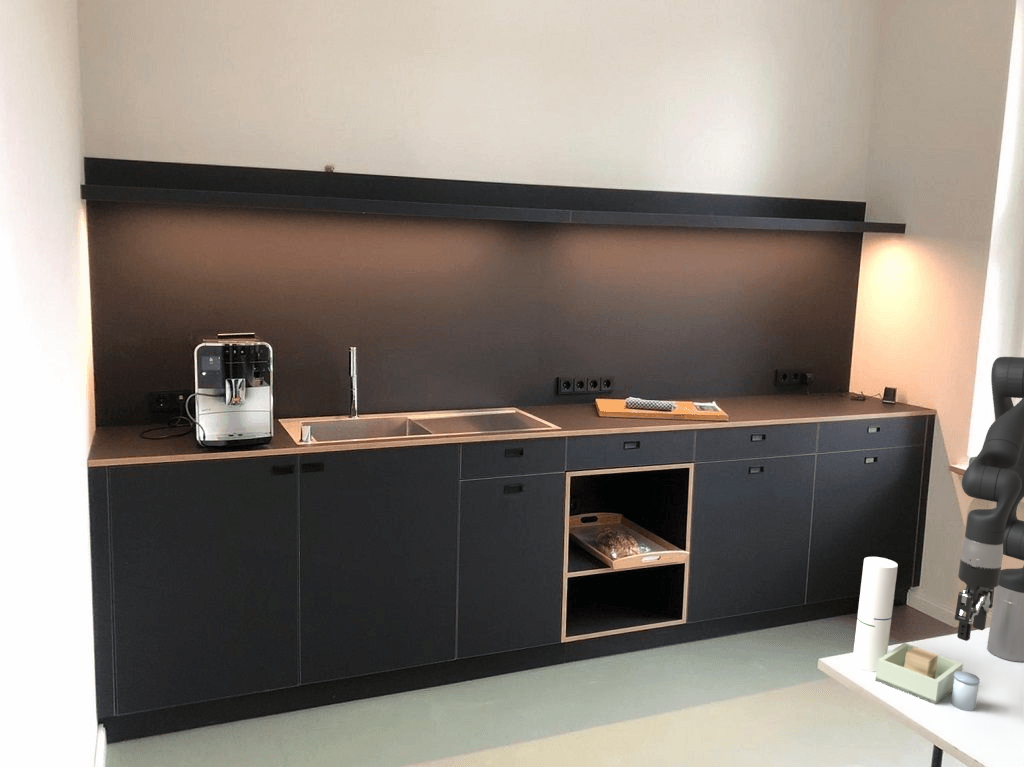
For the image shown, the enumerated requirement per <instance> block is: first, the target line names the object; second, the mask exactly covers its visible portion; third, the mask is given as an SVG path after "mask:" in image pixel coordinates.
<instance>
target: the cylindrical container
mask: <svg viewBox="0 0 1024 767" xmlns="http://www.w3.org/2000/svg"><path fill="white" fill-rule="evenodd" d="M861 574H862V575H861V583H860V591H859V593H860V594H859V599H858V600H859V601H858V609H857V619H856V626H855V627H856V628H855V636H854V644H853V654H852V664H853V665H854V666H855V667H856V668H859V669H860V670H863V671H867V672H872V673H876V671H877V663H878V659H880V658H881V657H883V656H884V655H886V654H887V653H888V652H889V651H888V648H889V642H890V634H891V623H892V616H893V608H894V600H895V591H896V582H897V576H898V575H897V574H898V563H897V562H896V561H894V560H891V559H888V558H886V557H879V556H867V557H864V559H863V566H862V573H861Z"/></svg>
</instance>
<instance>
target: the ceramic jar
mask: <svg viewBox="0 0 1024 767" xmlns="http://www.w3.org/2000/svg"><path fill="white" fill-rule="evenodd" d="M980 680H981V679H980V677H979V676H977V675H976V674H974V673H971V672H968V671H965V670H962V671H957V672H955V673H954V684H953V691H951V700H950V704H951V705H952V706H953V707H954V708H956V709H959V710H961V711H963V712H964V711H965V712H973V711H976V708H977V706H976V705H977V699H978V692H979V684H980V682H981V681H980Z"/></svg>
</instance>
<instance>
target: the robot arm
mask: <svg viewBox="0 0 1024 767" xmlns="http://www.w3.org/2000/svg"><path fill="white" fill-rule="evenodd" d="M990 372H991V374H990V375H991V376H990V378H991V379H990V381H991V391H992V392H991V394H992V402H993V403H992V404H993V412H994V421H993V422H992V424H991V425H990V426H989V428H988V430H987V433H986V436H985V438H984V442H983V445H982V447H981V449H980V452H978V454H977V455H976V457H975V458H974V459H973V460H972V462H971V463H970V464H969V465H968V467H967V468H966V469H965V471H964V473H963V475H962V478H961V487H962V489H963V490H962V491H963V492H964V493H965V494H966V495H967V496H968V497H969V498H970V497H971V498H973V499H974V498H975V499H979V500H983V501H991V502H995V504H996V505H995V506H996V507H994V508H987V509H986V508H985V509H983V508H982V509H981V508H980V509H979V508H978V509H977V508H976V509H972V510H970V511H969V512H968V514H967V518H966V524H965V525H966V526H965V534H964V540H963V543H962V546H961V552H960V561H959V569H958V574H957V576H958V579H959V580H960V581H962V582H963V583H964V584H965V585H966V586H965V589H963V592H962V591H959V592H958V595H957V596H958V597H957V601H956V602H957V603H956V608H955V614H954V620H955V621H957V622H958V629H957V639H959V640H963V641H965V642H967V641H969V640H970V639H971V633H972V631H971V630H972V627H973V628H974V629H976V630H979V631H984V630H985V629H986V624H987V617H988V614H989V612H990V609H992V610H991V618H990V624H989V625H990V626H989V632H988V638H987V645H986V647H987V648H986V649H987V651H988V653H990V654H992V655H994V656H996V657H997V658H1000V659H1004V660H1006V661H1007V660H1008V661H1010V662H1011V661H1012V662H1018V663H1019V662H1024V565H1023V566H1022V567H1020V568H1003V569H1002V564H1003V557H1004V556H1006V557H1010V558H1014V559H1016V560H1019V561H1023V562H1024V520H1021V519H1018V517H1017V509H1018V506H1019V504H1020V503H1021V501H1022V500H1023V499H1024V357H1023V356H1022V357H1021V356H998V357H997V358H996V359H995V360H994V361H993V363H992V366H991V371H990ZM1012 398H1015V399H1020V400H1019V402H1017V403H1016V404H1015V405H1014V403H1013V399H1012Z"/></svg>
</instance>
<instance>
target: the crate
mask: <svg viewBox="0 0 1024 767" xmlns="http://www.w3.org/2000/svg"><path fill="white" fill-rule="evenodd" d="M914 647H917V648H920V647H918V646H914V645H911V644H908V643H906V642H903V643H901V644H900V645H898V646H897V647H895V648H893V649H892V650H890V651H888V652H887V654H886V655H884V656H883V657H881V658H880V659H878V663H877V671H876V672H875V682H878V683H880V682H881V683H880V684H883V685H885V684H886V685H885V686H888V685H889V686H888V687H890V686H892V687H891V688H893V687H894V688H893V689H895V688H897V689H896V690H898V689H899V690H898V691H900V690H901V692H903V691H904V692H903V693H905V692H907V693H906V694H908V693H909V695H910V694H912V695H911V696H913V695H914V697H915V696H916V697H915V698H918V697H919V698H918V699H921V700H923V701H926V702H928V703H931V704H934V705H937V704H938V703H939V702H940V701H941V700H943V699H945V697H947V696H948V695H949V694H950V693H952V692H953V684H954V673H955V672H957V671H963V666H964V664H963V663H962V662H960V661H957V660H954V659H951V658H948V657H945V656H944V655H943V656H942V655H940V654H937V655H938V659H937V667H936V674H935V679H933V678H931V677H928V676H925V675H923V674H920V673H917V672H915V671H912V670H909V669H907V668H904V665H905V657H906V653H907V652H908V651H910V650H911V649H913V648H914ZM920 649H922V648H920ZM924 650H925V651H928V652H931V653H934V652H932V651H929V650H926V649H924ZM934 654H936V653H934Z"/></svg>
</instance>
